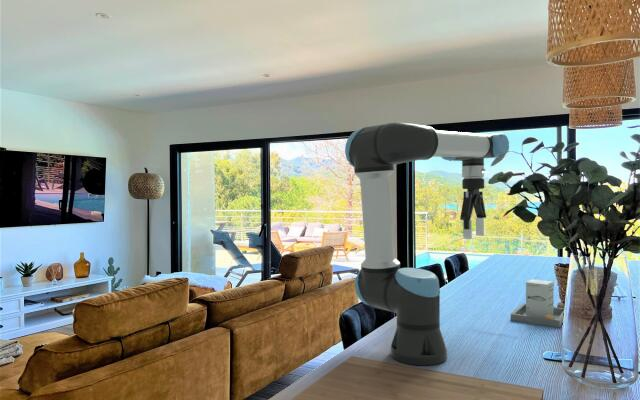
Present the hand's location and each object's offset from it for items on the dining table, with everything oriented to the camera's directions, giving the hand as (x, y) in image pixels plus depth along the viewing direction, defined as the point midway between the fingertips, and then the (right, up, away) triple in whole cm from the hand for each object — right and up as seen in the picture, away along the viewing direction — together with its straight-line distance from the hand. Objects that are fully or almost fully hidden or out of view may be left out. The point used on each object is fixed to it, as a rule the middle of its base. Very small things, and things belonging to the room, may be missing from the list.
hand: (473, 237), depth 163 cm
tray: (+21, -28, -5) cm, 36 cm away
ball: (+21, -28, -12) cm, 37 cm away
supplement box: (+21, -28, -5) cm, 35 cm away
